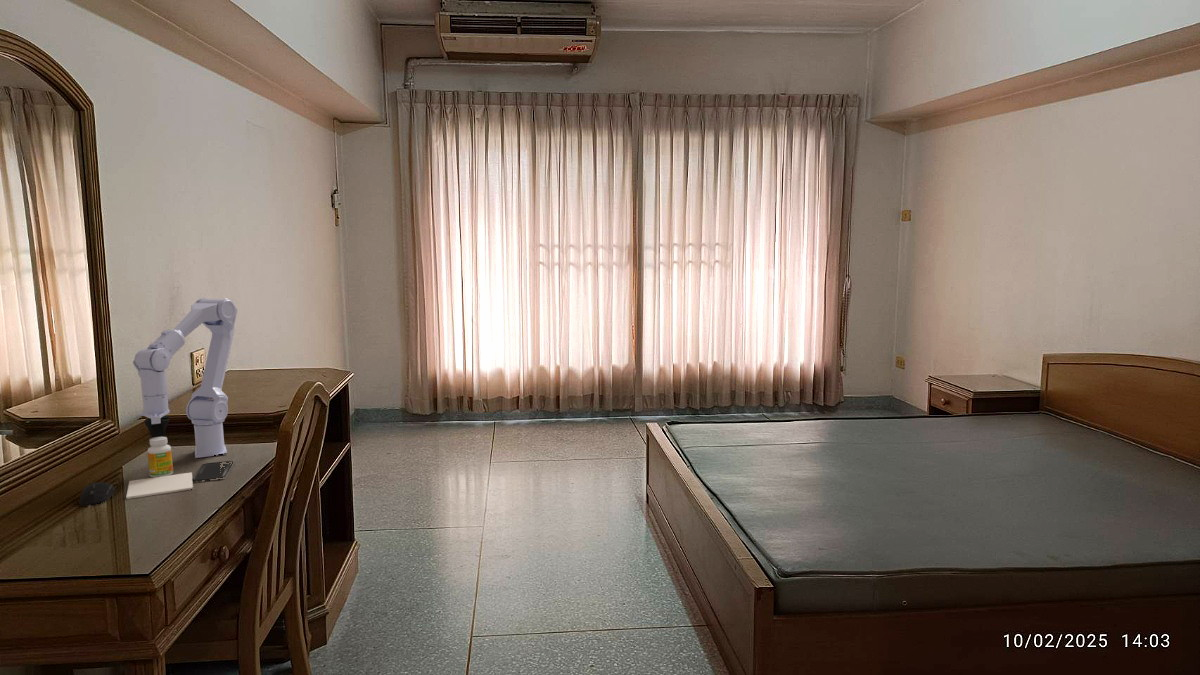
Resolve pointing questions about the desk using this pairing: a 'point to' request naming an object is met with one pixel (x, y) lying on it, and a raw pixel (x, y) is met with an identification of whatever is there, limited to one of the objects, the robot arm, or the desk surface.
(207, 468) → the phone
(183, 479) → the sticky note pad
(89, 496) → the gaming mouse
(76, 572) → the desk surface
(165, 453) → the supplement bottle
